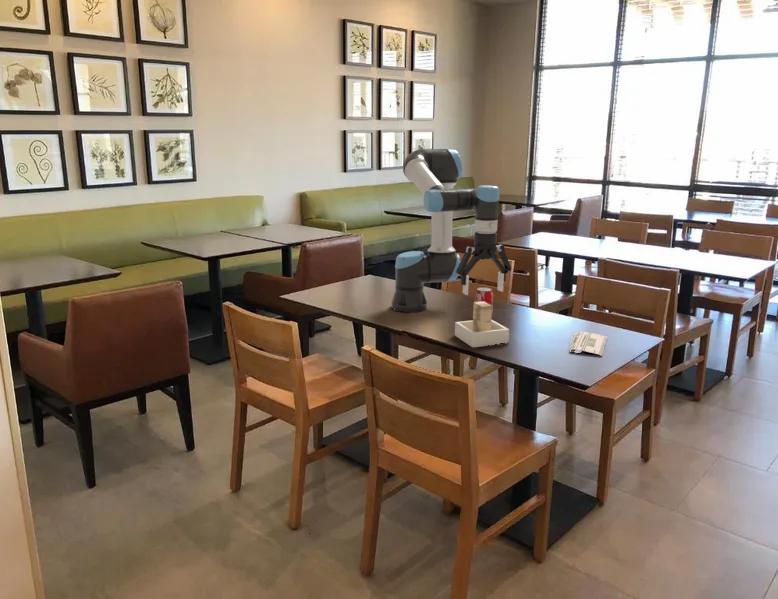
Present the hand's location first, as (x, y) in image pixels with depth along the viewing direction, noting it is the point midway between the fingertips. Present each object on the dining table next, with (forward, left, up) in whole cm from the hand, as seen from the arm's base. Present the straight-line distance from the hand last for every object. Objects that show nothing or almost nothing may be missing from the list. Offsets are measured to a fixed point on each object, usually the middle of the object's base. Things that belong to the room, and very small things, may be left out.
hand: (482, 292), depth 218 cm
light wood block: (0, 0, -16) cm, 16 cm away
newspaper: (+18, +31, -18) cm, 40 cm away
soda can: (-23, +13, -17) cm, 31 cm away
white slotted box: (0, 0, -17) cm, 17 cm away
